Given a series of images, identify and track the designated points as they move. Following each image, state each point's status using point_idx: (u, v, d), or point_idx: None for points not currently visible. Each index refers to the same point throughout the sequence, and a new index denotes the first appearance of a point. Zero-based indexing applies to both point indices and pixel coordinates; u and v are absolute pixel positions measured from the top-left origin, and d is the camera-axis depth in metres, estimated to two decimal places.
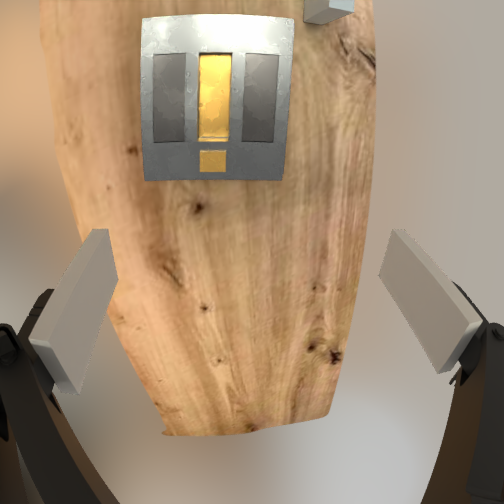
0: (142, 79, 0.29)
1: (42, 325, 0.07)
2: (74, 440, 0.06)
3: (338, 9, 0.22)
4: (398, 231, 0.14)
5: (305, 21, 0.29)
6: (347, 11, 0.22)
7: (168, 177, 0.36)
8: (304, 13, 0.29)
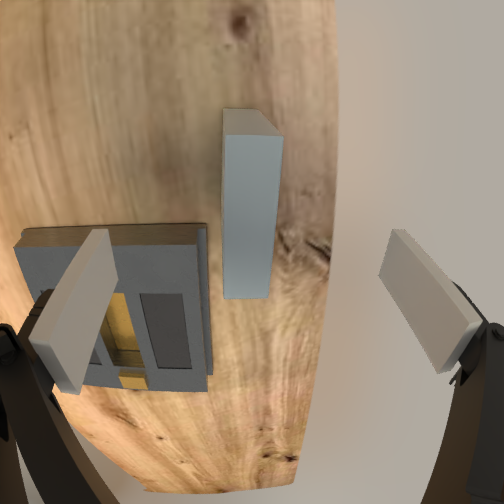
0: None
1: (42, 325, 0.07)
2: (74, 440, 0.06)
3: None
4: (398, 231, 0.14)
5: None
6: None
7: (97, 384, 0.32)
8: None
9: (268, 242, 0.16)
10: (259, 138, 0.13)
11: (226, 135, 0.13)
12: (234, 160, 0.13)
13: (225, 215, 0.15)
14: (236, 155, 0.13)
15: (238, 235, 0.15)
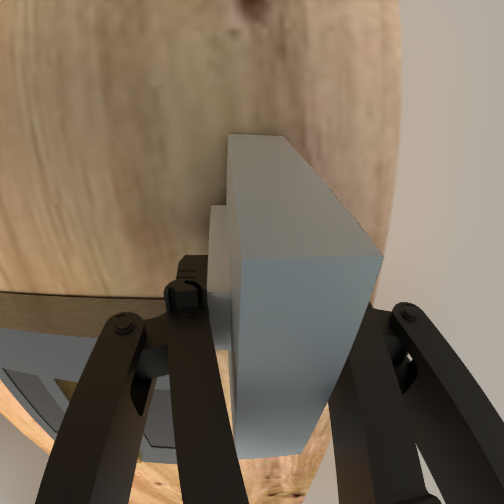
0: (8, 387, 0.18)
1: (216, 280, 0.10)
2: None
3: None
4: None
5: None
6: None
7: None
8: None
9: (314, 412, 0.08)
10: (327, 263, 0.05)
11: (244, 259, 0.05)
12: (262, 311, 0.06)
13: (240, 391, 0.07)
14: (269, 302, 0.06)
15: (262, 410, 0.08)
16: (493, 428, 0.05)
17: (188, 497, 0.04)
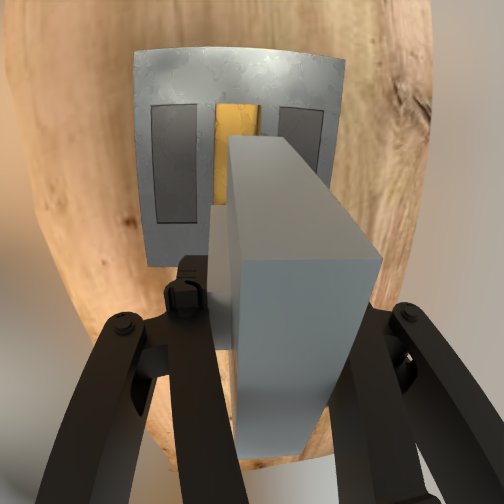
0: (137, 140, 0.23)
1: (216, 280, 0.10)
2: None
3: None
4: None
5: None
6: None
7: (177, 264, 0.30)
8: None
9: (313, 413, 0.08)
10: (326, 265, 0.05)
11: (244, 262, 0.05)
12: (262, 313, 0.06)
13: (240, 392, 0.07)
14: (268, 304, 0.06)
15: (262, 411, 0.08)
16: (493, 428, 0.05)
17: (188, 497, 0.04)
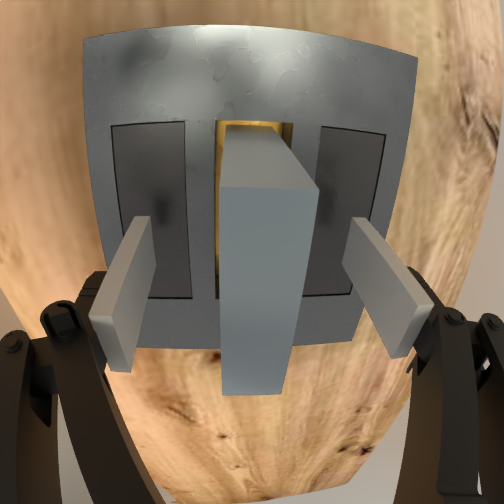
0: (94, 181, 0.14)
1: (101, 302, 0.09)
2: (123, 423, 0.07)
3: None
4: (358, 219, 0.14)
5: None
6: None
7: (168, 345, 0.21)
8: None
9: (285, 338, 0.11)
10: (277, 192, 0.08)
11: (221, 187, 0.08)
12: (234, 228, 0.08)
13: (222, 306, 0.10)
14: (239, 221, 0.08)
15: (241, 331, 0.10)
16: None
17: None
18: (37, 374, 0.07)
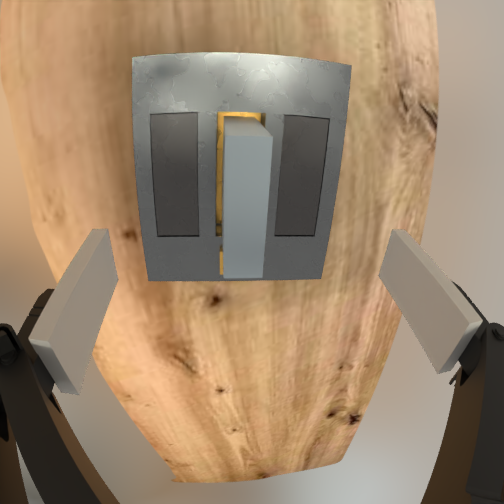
0: (136, 150, 0.22)
1: (42, 325, 0.07)
2: (74, 440, 0.06)
3: None
4: (398, 231, 0.14)
5: None
6: None
7: (178, 278, 0.29)
8: None
9: (261, 226, 0.18)
10: (252, 138, 0.16)
11: (226, 136, 0.16)
12: (232, 156, 0.16)
13: (225, 203, 0.18)
14: (234, 152, 0.16)
15: (236, 220, 0.18)
16: None
17: None
18: None
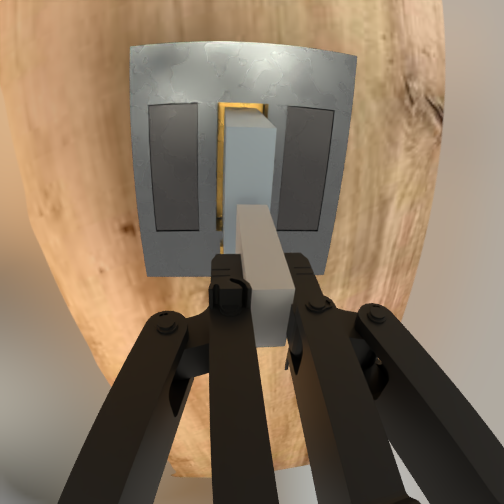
0: (134, 142, 0.22)
1: (255, 278, 0.10)
2: None
3: None
4: (257, 206, 0.15)
5: None
6: None
7: (178, 273, 0.28)
8: None
9: None
10: (255, 129, 0.15)
11: (227, 127, 0.15)
12: (234, 148, 0.15)
13: (226, 197, 0.17)
14: (236, 144, 0.15)
15: None
16: (474, 430, 0.05)
17: (219, 493, 0.04)
18: (193, 354, 0.08)
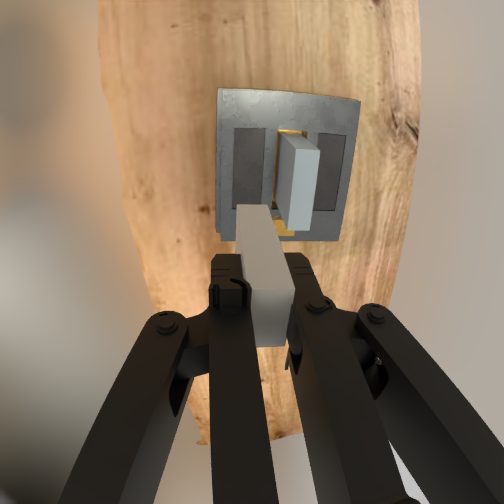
0: (223, 150, 0.36)
1: (255, 278, 0.10)
2: None
3: None
4: (257, 206, 0.15)
5: None
6: None
7: None
8: (274, 188, 0.41)
9: (311, 199, 0.32)
10: (309, 150, 0.29)
11: (296, 149, 0.29)
12: (298, 160, 0.30)
13: (292, 185, 0.31)
14: (300, 158, 0.30)
15: (297, 195, 0.32)
16: (474, 430, 0.05)
17: (219, 493, 0.04)
18: (192, 354, 0.08)
